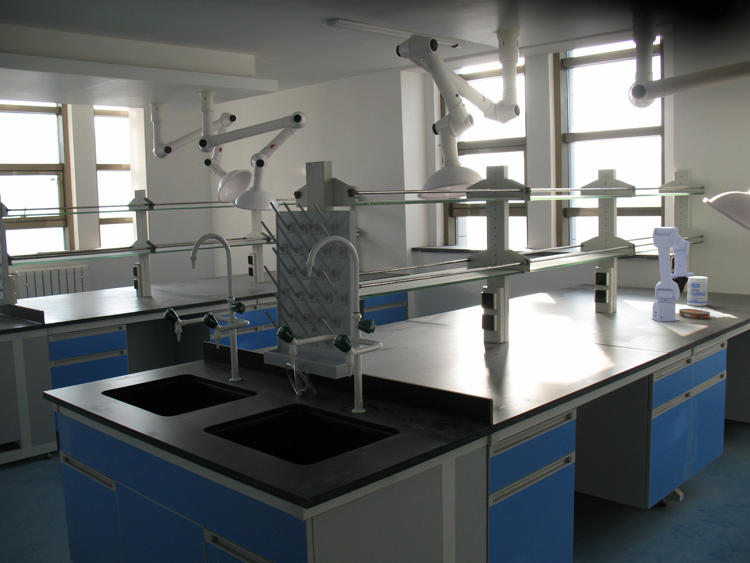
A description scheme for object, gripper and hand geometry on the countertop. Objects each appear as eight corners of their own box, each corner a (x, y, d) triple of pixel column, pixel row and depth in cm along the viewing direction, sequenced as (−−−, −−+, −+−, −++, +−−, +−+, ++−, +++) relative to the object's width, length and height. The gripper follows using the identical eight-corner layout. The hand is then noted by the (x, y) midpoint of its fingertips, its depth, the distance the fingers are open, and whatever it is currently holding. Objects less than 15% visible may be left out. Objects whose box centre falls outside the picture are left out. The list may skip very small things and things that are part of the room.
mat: (716, 317, 316) (716, 317, 316) (697, 312, 331) (697, 312, 331) (730, 317, 317) (730, 316, 317) (711, 311, 331) (711, 311, 331)
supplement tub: (691, 306, 348) (692, 278, 346) (683, 303, 357) (684, 276, 355) (710, 306, 347) (711, 277, 345) (702, 303, 357) (703, 275, 355)
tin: (714, 312, 315) (700, 313, 312) (713, 319, 316) (700, 319, 312) (688, 308, 329) (675, 308, 326) (687, 314, 329) (674, 315, 326)
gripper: (675, 266, 322) (674, 294, 324) (698, 264, 327) (698, 292, 328) (664, 265, 329) (663, 292, 330) (687, 263, 333) (687, 290, 335)
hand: (680, 292), depth 330 cm, fingers closed
